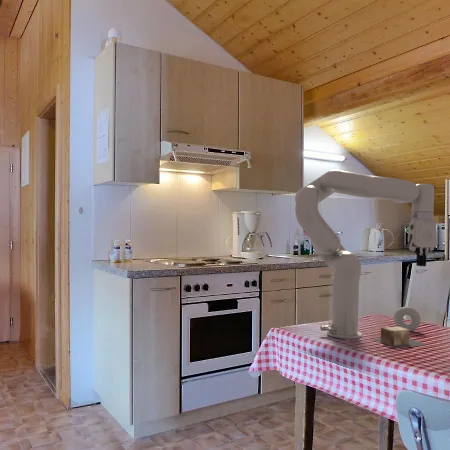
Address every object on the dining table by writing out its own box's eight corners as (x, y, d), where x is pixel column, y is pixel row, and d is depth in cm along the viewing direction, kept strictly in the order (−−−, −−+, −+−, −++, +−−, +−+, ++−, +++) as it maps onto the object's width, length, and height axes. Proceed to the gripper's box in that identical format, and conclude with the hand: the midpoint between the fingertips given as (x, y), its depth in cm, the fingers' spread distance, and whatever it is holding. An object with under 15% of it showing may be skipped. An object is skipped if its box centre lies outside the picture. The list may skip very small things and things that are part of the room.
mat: (394, 348, 153) (394, 347, 153) (371, 339, 164) (371, 338, 164) (426, 346, 157) (426, 344, 157) (402, 337, 169) (402, 336, 169)
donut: (419, 332, 179) (420, 306, 179) (420, 333, 176) (421, 308, 176) (393, 329, 182) (393, 305, 182) (393, 331, 179) (394, 306, 179)
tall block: (408, 344, 158) (390, 345, 155) (399, 340, 162) (380, 341, 160) (409, 329, 158) (390, 330, 155) (399, 326, 163) (381, 327, 160)
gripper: (413, 216, 163) (412, 266, 163) (445, 217, 168) (444, 266, 168) (399, 216, 170) (397, 265, 170) (430, 217, 175) (429, 265, 175)
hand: (421, 265), depth 169 cm, fingers closed
